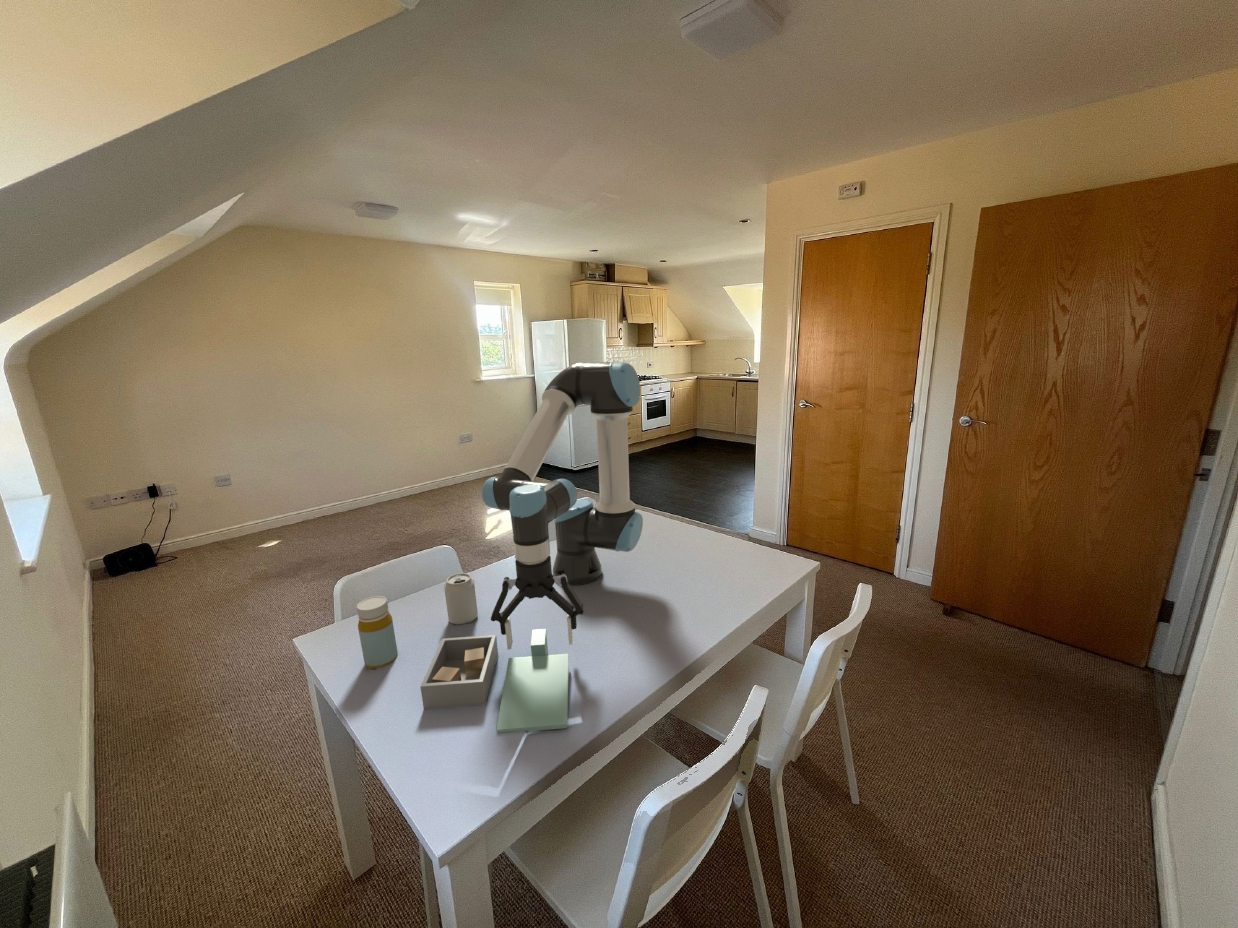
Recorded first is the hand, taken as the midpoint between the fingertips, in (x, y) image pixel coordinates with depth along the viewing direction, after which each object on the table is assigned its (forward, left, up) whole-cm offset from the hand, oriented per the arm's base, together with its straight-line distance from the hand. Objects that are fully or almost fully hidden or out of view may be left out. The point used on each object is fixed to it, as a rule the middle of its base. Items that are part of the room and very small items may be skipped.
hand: (540, 643), depth 111 cm
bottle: (+37, -4, -5) cm, 38 cm away
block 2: (+14, +3, -4) cm, 15 cm away
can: (+22, -20, -5) cm, 31 cm away
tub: (+16, +6, -4) cm, 18 cm away
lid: (0, +9, -5) cm, 11 cm away
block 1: (+19, +9, -4) cm, 21 cm away
